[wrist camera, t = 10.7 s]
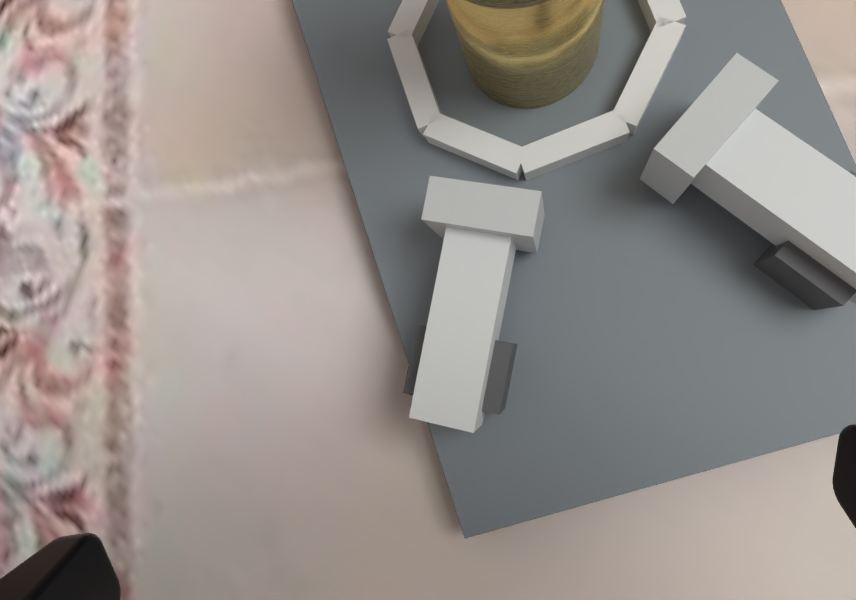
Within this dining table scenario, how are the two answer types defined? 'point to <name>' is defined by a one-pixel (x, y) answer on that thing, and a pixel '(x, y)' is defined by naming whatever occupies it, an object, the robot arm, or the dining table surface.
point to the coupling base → (602, 246)
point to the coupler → (528, 46)
